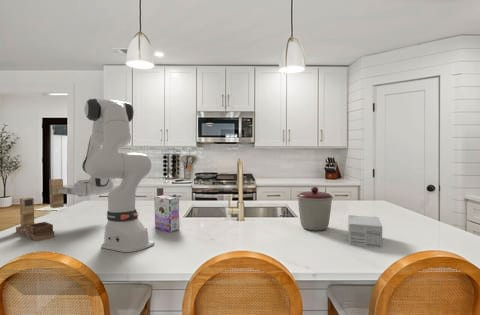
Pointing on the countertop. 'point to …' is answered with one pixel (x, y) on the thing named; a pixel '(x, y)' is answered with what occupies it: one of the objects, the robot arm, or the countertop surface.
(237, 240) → the countertop surface
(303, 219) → the canister
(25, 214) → the wooden block stack
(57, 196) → the light wood tall block
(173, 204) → the candy box
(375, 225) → the supplement box
